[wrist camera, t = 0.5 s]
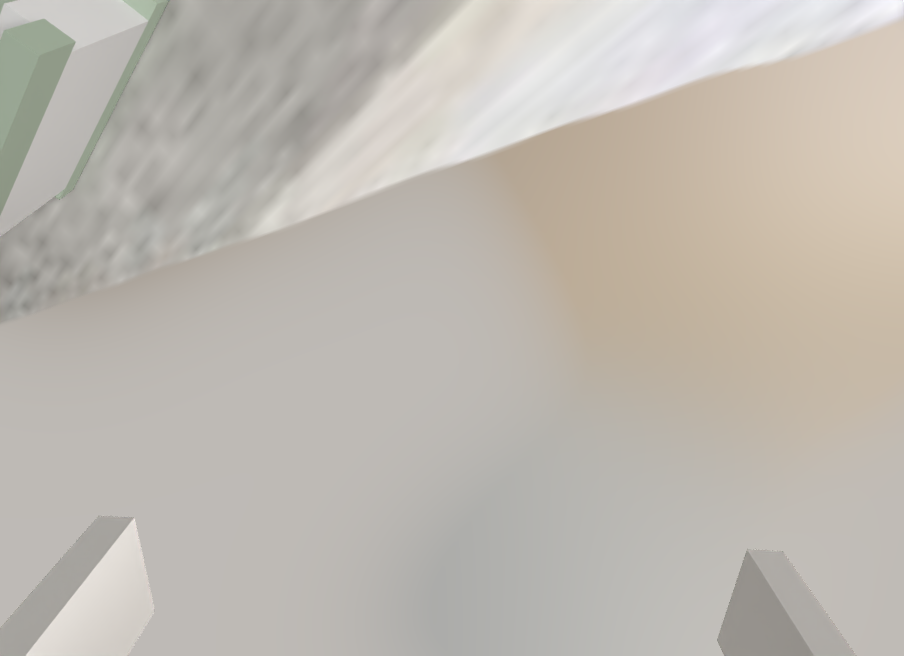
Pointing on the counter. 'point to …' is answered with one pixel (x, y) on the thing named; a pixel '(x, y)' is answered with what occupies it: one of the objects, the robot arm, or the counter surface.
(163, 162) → the counter surface
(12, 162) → the vise bed
